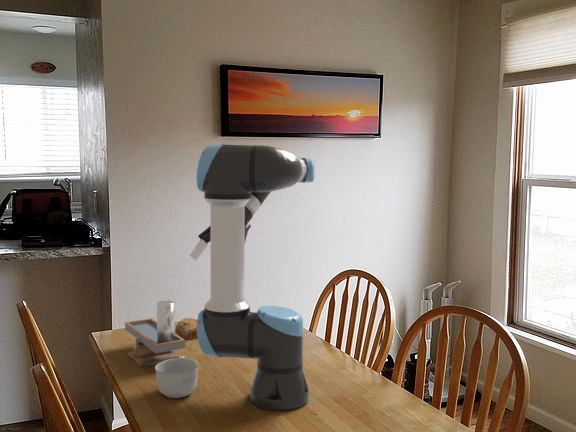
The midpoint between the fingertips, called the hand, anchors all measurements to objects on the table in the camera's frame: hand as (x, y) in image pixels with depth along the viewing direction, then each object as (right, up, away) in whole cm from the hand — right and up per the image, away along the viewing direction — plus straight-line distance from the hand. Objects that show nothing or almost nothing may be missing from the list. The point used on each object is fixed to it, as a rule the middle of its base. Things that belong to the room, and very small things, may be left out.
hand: (205, 261), depth 185 cm
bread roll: (-9, -28, +22) cm, 36 cm away
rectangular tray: (-16, -24, -1) cm, 28 cm away
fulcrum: (-16, -29, 0) cm, 33 cm away
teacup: (-4, -33, -25) cm, 42 cm away
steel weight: (-10, -23, -9) cm, 27 cm away
